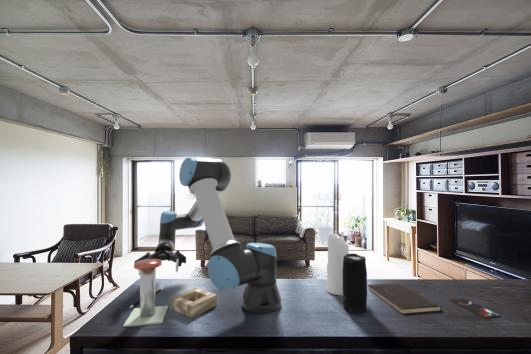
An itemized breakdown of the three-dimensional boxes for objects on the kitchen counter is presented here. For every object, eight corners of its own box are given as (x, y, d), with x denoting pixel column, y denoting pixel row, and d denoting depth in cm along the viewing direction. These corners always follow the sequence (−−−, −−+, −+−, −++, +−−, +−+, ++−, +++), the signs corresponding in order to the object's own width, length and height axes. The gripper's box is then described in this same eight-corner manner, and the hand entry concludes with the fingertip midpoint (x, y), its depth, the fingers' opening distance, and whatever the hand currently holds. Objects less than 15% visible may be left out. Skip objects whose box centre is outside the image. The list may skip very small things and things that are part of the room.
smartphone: (462, 297, 108) (501, 315, 93) (462, 299, 108) (501, 317, 93) (447, 299, 106) (484, 317, 92) (447, 300, 106) (484, 319, 92)
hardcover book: (401, 315, 95) (401, 308, 95) (367, 289, 118) (367, 284, 118) (441, 312, 98) (441, 305, 98) (400, 287, 120) (400, 282, 120)
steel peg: (166, 312, 95) (166, 261, 96) (142, 323, 88) (143, 267, 89) (152, 306, 101) (152, 257, 101) (128, 315, 93) (128, 263, 94)
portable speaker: (345, 315, 94) (344, 259, 95) (340, 303, 104) (340, 252, 104) (370, 316, 94) (369, 259, 94) (363, 304, 103) (362, 253, 103)
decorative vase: (348, 285, 121) (348, 230, 122) (354, 295, 111) (353, 235, 111) (324, 285, 122) (323, 230, 123) (327, 294, 112) (327, 234, 112)
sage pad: (168, 307, 101) (168, 305, 101) (162, 323, 89) (162, 321, 89) (134, 309, 99) (134, 308, 99) (123, 327, 87) (123, 325, 87)
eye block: (216, 304, 103) (216, 294, 103) (192, 318, 93) (192, 306, 93) (195, 297, 110) (195, 287, 110) (170, 308, 100) (170, 298, 100)
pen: (163, 289, 118) (163, 287, 119) (130, 309, 100) (130, 306, 100) (161, 289, 119) (161, 287, 119) (128, 308, 101) (128, 305, 101)
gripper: (192, 255, 129) (191, 276, 108) (135, 259, 122) (123, 282, 102) (192, 240, 128) (191, 258, 108) (135, 243, 122) (123, 263, 101)
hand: (158, 270), depth 105 cm, fingers open, 13 cm apart
